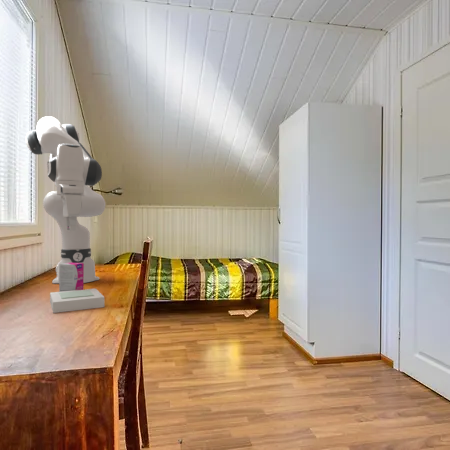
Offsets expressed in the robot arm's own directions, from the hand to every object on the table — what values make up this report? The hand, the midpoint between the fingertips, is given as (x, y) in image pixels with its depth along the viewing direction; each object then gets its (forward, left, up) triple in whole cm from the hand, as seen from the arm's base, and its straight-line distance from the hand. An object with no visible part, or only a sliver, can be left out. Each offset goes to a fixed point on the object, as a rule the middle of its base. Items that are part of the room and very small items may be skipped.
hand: (71, 230), depth 122 cm
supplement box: (0, 0, -23) cm, 23 cm away
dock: (+14, 0, -23) cm, 27 cm away
